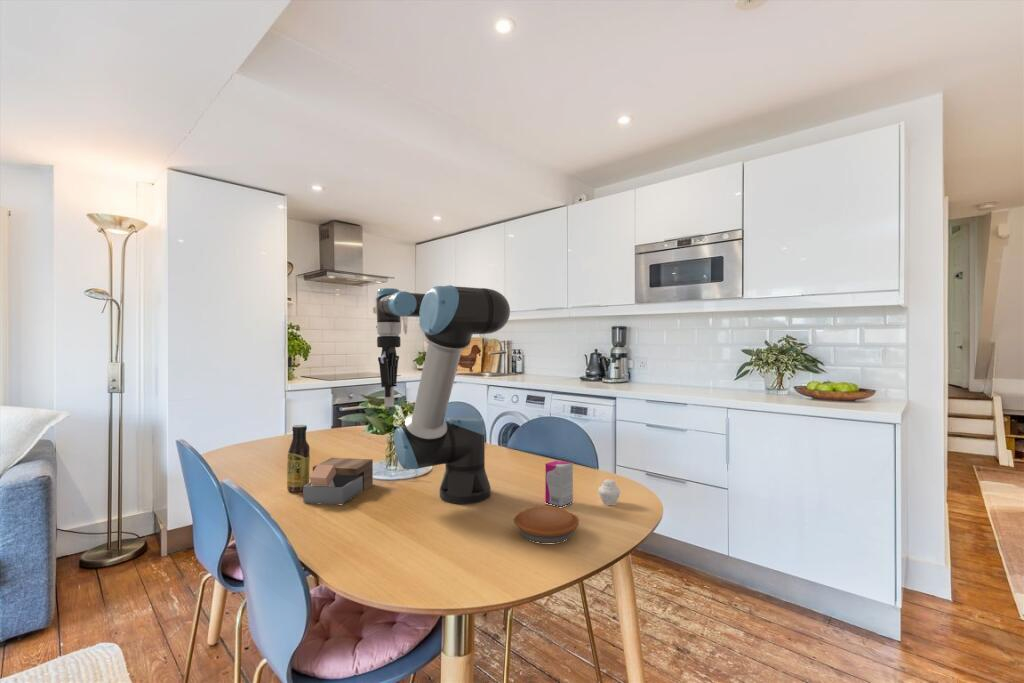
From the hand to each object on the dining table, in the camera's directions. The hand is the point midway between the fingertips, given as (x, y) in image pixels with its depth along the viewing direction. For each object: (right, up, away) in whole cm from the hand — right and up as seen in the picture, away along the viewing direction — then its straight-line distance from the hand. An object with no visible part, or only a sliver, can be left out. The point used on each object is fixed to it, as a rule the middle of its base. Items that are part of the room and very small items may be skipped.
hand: (389, 406), depth 156 cm
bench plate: (-12, -24, -10) cm, 29 cm away
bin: (-12, -24, -17) cm, 32 cm away
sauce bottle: (-25, -25, -11) cm, 37 cm away
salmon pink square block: (-13, -18, -20) cm, 30 cm away
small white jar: (+68, -24, -23) cm, 76 cm away
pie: (+49, -25, -44) cm, 70 cm away
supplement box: (+54, -24, -23) cm, 64 cm away
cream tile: (-14, -20, -19) cm, 31 cm away
